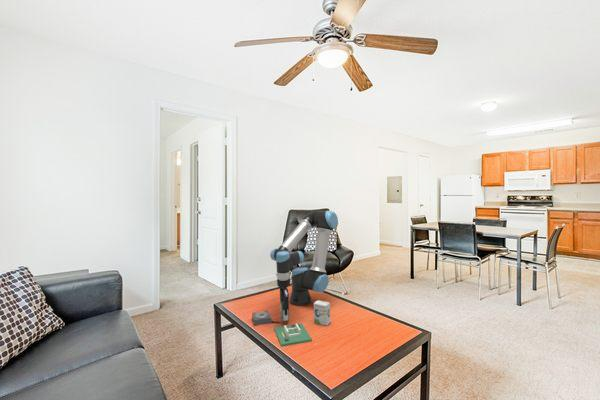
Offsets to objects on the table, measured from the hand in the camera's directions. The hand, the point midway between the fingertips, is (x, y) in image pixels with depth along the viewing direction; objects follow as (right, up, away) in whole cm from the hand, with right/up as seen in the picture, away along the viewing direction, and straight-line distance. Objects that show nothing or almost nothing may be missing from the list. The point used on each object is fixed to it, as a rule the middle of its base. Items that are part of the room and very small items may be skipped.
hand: (284, 318), depth 162 cm
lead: (-6, -3, 0) cm, 6 cm away
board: (+5, -3, -14) cm, 15 cm away
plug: (0, -1, 0) cm, 1 cm away
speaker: (-14, -3, +3) cm, 15 cm away
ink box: (+22, -3, -1) cm, 22 cm away
